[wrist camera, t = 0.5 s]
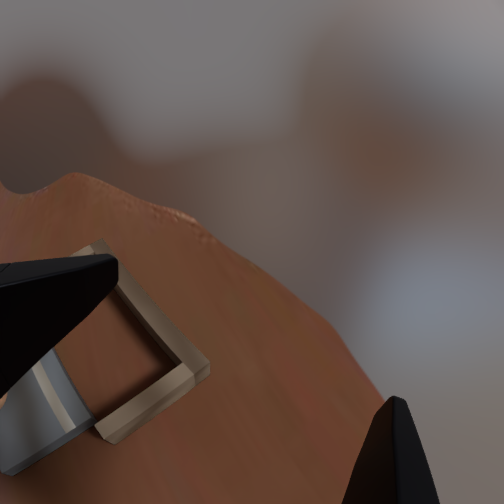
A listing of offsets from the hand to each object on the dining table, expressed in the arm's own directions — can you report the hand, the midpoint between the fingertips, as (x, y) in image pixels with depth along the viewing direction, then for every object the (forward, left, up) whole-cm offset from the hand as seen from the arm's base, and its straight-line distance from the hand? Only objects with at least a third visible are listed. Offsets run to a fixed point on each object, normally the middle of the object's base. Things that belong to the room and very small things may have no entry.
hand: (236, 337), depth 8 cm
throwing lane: (-7, +12, -15) cm, 21 cm away
